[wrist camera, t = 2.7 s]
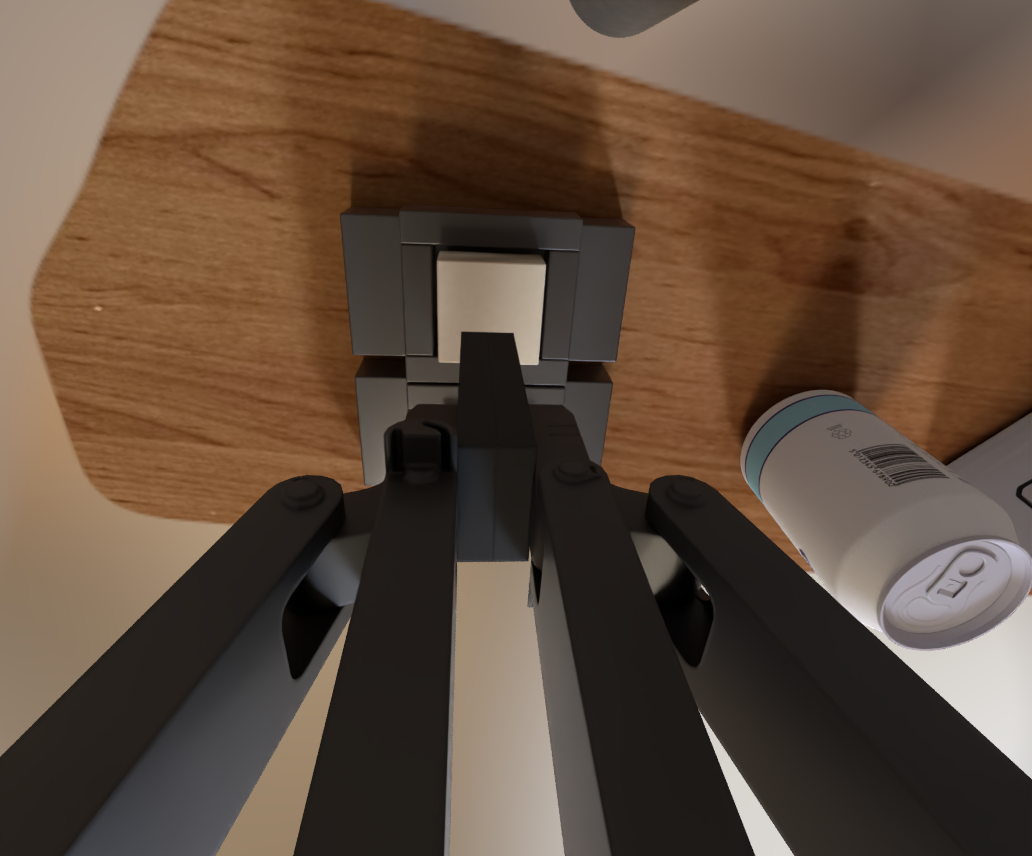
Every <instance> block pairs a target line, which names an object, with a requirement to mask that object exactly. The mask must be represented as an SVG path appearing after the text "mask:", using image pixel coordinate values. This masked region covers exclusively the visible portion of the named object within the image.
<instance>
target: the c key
mask: <svg viewBox="0 0 1032 856" xmlns="http://www.w3.org/2000/svg"><path fill="white" fill-rule="evenodd" d="M545 273H546V264H545V262H544V260H543V258H542V256H541V255H536V254H512V253H488V252H464V251H440V252H439V255H438V258H437V321H438V362H441V363H460V346H461V331H464V332H500V333H514V337H515V342H516V347H517V351H518V356H519V361H520V365H538V364H539V352H540V339H541V326H542V313H543V299H544V286H545Z"/></svg>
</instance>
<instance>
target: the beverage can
mask: <svg viewBox="0 0 1032 856" xmlns="http://www.w3.org/2000/svg"><path fill="white" fill-rule="evenodd" d="M740 464H741V470H742V474H743V476H744V478H745V480H746V482H747V483H748V485H749V486H750V487H751V489H752V490H753V491H754V493H755V494H756V495H757V497H758V498H759V499H760V501H761V502H762V503H763V505H764V506H765V507H766V509H767V510H768V511H769V513H770V514H771V515H772V517H773V518H774V519H775V521H776V522H777V523H778V525H779V526H780V527H781V528H782V530H783V531H784V532H785V534H786V535H787V536H788V538H789V539H790V540H791V542H792V543H793V544H794V546H795V547H796V548H797V550H798V551H799V552H800V554H801V555H802V556H803V558H804V559H805V560H806V562H807V563H808V564H809V566H810V567H811V568H812V569H813V571H814V572H815V573H816V575H817V576H818V577H819V579H820V580H821V581H822V583H823V584H824V585H825V587H826V588H827V589H828V591H829V592H830V593H831V595H832V596H833V597H834V598H835V599H836V600H837V601H838V602H839V603H840V604H841V605H842V606H843V607H844V608H845V609H847V610H848V611H849V612H850V613H851V614H852V615H853V616H854V617H855V618H856V619H857V620H858V621H860V622H861V623H862V624H864V625H866V626H868V627H871V628H873V629H875V630H878V631H880V632H882V633H884V634H885V635H886V636H887V637H888V638H889V639H890V640H891V641H892V642H894V643H895V644H897V645H899V646H901V647H905V648H908V649H912V650H923V651H924V650H925V651H927V650H939V649H945V648H950V647H954V646H957V645H961V644H963V643H966V642H969V641H971V640H974V639H976V638H978V637H980V636H982V635H984V634H985V633H987V632H989V631H991V630H992V629H994V628H995V627H996V626H998V625H1000V624H1001V623H1002V622H1004V621H1005V620H1006V619H1007V618H1008V617H1010V616H1011V615H1012V614H1013V613H1014V612H1015V611H1016V610H1017V609H1018V607H1019V606H1020V605H1021V604H1022V602H1023V601H1024V600H1025V598H1026V597H1027V595H1028V593H1029V591H1030V589H1031V587H1032V558H1031V557H1030V555H1029V554H1028V553H1027V551H1025V550H1024V549H1023V548H1022V547H1020V544H1019V541H1018V538H1017V535H1016V532H1015V529H1014V526H1013V523H1012V521H1011V519H1010V517H1009V516H1008V514H1007V513H1006V511H1005V510H1004V509H1003V508H1002V507H1001V506H1000V505H998V504H997V503H996V502H995V501H993V500H992V499H990V498H989V497H988V496H986V495H985V494H984V493H982V492H981V491H979V490H978V489H977V488H975V487H974V486H973V485H971V484H970V483H968V482H967V481H966V480H964V479H963V478H962V477H960V476H959V475H957V474H956V473H955V472H953V471H952V470H950V469H949V468H948V467H946V466H945V465H944V464H942V463H941V462H939V461H938V460H937V459H935V458H934V457H933V456H931V455H930V454H928V453H927V452H926V451H924V450H923V449H922V448H920V447H919V446H917V445H916V444H915V443H913V442H912V441H911V440H909V439H908V438H906V437H905V436H904V435H902V434H901V433H899V432H898V431H897V430H895V429H894V428H893V427H891V426H890V425H888V424H887V423H886V422H884V421H883V420H882V419H880V418H879V417H877V416H876V415H875V414H873V413H872V412H871V411H869V410H868V409H866V408H865V407H864V406H862V405H861V404H860V403H858V402H857V401H855V400H854V399H853V398H851V397H849V396H847V395H845V394H843V393H840V392H836V391H831V390H812V391H807V392H802V393H799V394H796V395H793V396H791V397H788V398H786V399H784V400H782V401H780V402H779V403H777V404H775V405H774V406H773V407H771V408H770V409H769V410H767V411H766V412H765V413H764V414H763V415H762V416H761V417H760V418H759V419H758V420H757V421H756V422H755V424H754V425H753V426H752V428H751V429H750V431H749V432H748V434H747V436H746V438H745V441H744V443H743V446H742V450H741V457H740Z"/></svg>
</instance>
